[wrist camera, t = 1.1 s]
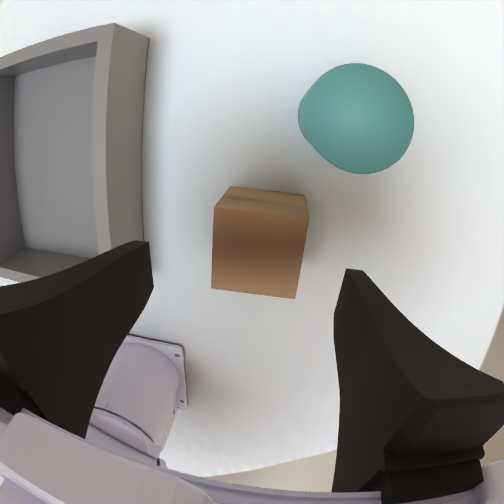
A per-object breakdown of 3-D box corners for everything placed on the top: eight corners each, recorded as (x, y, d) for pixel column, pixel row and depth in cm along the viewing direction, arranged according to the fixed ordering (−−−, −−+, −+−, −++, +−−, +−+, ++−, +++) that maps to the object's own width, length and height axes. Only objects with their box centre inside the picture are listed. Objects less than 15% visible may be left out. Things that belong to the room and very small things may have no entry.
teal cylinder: (368, 160, 19) (404, 182, 13) (294, 149, 20) (298, 165, 13) (377, 88, 17) (418, 78, 11) (301, 75, 18) (310, 54, 11)
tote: (145, 272, 25) (118, 306, 20) (26, 251, 25) (-6, 274, 21) (149, 38, 17) (114, 22, 12) (15, 68, 18) (-24, 68, 13)
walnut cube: (294, 261, 23) (295, 298, 18) (226, 253, 23) (211, 288, 19) (303, 194, 21) (308, 218, 16) (230, 186, 21) (214, 207, 17)
